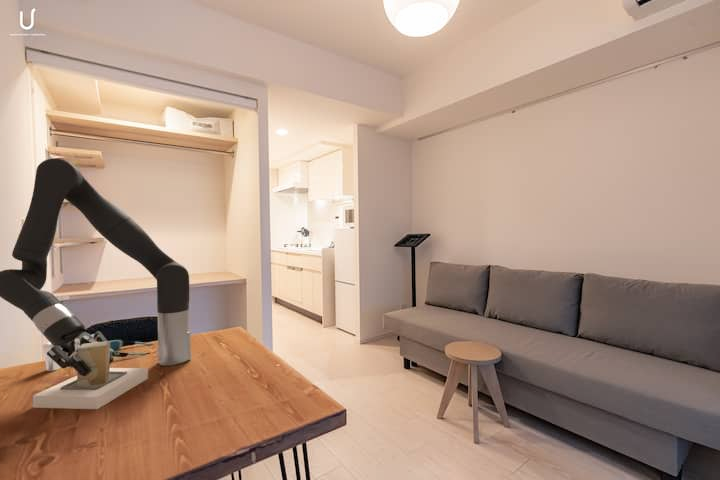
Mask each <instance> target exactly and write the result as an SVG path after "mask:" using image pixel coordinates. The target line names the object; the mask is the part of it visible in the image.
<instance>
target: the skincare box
mask: <svg viewBox="0 0 720 480" xmlns="http://www.w3.org/2000/svg"><path fill="white" fill-rule="evenodd" d="M110 341H111V340H107V341H104V342H94V343H85V344H82V345H81V346H80V347H79V348H78V355H79V356H80V358H81V360H80V361H82V360H83V361H84V363H85V364H86V365H87V366H88V367H89V368H90V369H91V372H90V373H89V374H88V375H87V376H82V375H80V374H79V373H78V372H77V371H76V373H77V375H76V376H77V387H98V386H100V385H102V384H104V383H106V382H108V381H109V368H110V365H111V364H110ZM109 364H110V365H109Z"/></svg>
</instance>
